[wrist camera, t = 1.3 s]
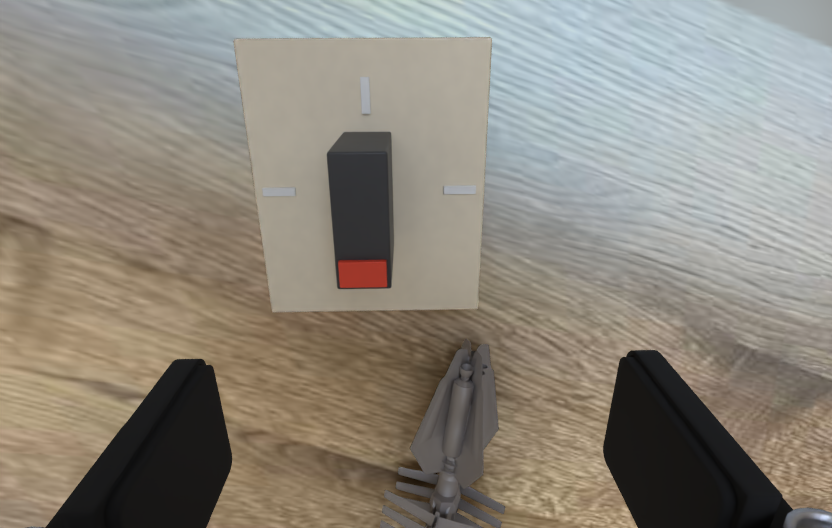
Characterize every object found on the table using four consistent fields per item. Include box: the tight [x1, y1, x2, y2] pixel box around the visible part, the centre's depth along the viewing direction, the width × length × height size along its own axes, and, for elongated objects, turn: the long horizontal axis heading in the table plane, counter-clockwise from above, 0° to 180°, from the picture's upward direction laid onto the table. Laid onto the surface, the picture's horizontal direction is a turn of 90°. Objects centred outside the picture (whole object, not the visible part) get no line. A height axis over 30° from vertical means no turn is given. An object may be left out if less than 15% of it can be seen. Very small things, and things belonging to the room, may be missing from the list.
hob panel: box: [234, 37, 492, 312], centre depth 22 cm, size 12×10×3 cm
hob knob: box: [327, 132, 394, 289], centre depth 19 cm, size 5×2×5 cm, turn 0°
